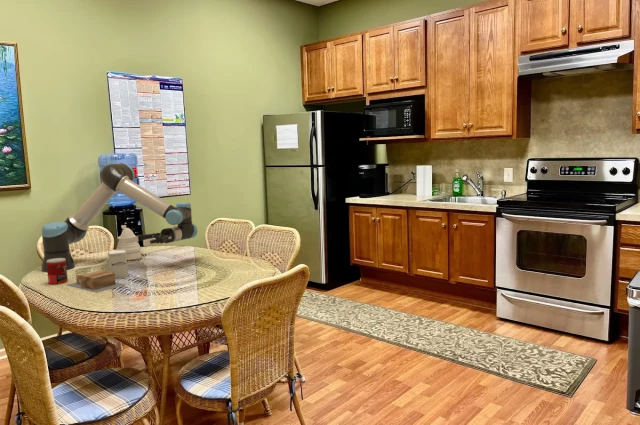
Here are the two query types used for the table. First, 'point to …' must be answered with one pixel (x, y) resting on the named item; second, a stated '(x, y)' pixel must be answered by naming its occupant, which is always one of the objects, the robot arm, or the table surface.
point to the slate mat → (96, 289)
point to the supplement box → (118, 263)
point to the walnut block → (97, 280)
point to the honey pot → (131, 248)
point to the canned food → (57, 271)
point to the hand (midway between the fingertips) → (134, 242)
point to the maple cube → (79, 278)
